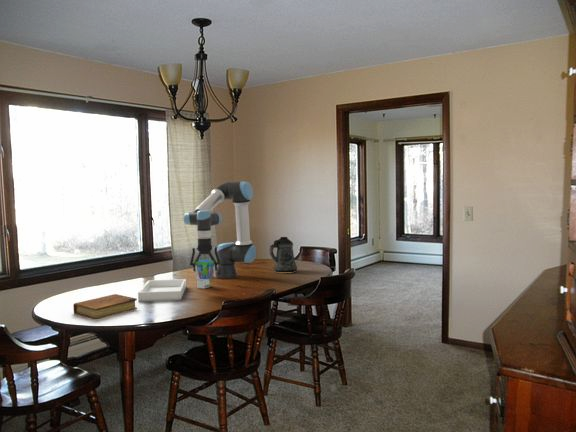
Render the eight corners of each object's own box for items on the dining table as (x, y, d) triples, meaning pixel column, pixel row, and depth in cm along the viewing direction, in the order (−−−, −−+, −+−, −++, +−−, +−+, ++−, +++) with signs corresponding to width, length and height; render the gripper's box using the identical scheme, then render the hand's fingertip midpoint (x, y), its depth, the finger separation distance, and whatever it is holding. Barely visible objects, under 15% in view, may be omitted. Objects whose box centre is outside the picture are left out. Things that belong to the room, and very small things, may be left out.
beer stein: (301, 271, 331) (301, 236, 329) (285, 275, 315) (285, 239, 313) (282, 268, 340) (282, 235, 339) (266, 273, 324) (266, 238, 323)
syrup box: (204, 288, 277) (203, 264, 276) (196, 287, 280) (196, 264, 279) (210, 286, 281) (209, 263, 280) (203, 285, 285) (202, 262, 284)
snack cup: (198, 275, 268) (197, 258, 268) (216, 275, 269) (216, 257, 268) (194, 281, 253) (193, 263, 252) (213, 281, 253) (212, 263, 252)
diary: (114, 304, 244) (114, 293, 243) (137, 309, 233) (136, 298, 233) (73, 314, 225) (73, 302, 224) (95, 320, 214) (95, 308, 214)
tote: (185, 287, 281) (185, 279, 281) (180, 300, 249) (180, 291, 249) (148, 288, 278) (148, 280, 278) (138, 301, 246) (138, 292, 246)
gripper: (183, 239, 254) (185, 279, 256) (224, 238, 257) (225, 277, 259) (185, 237, 261) (186, 276, 263) (224, 236, 264) (225, 274, 266)
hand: (205, 276), depth 261 cm, fingers closed on snack cup, 9 cm apart
